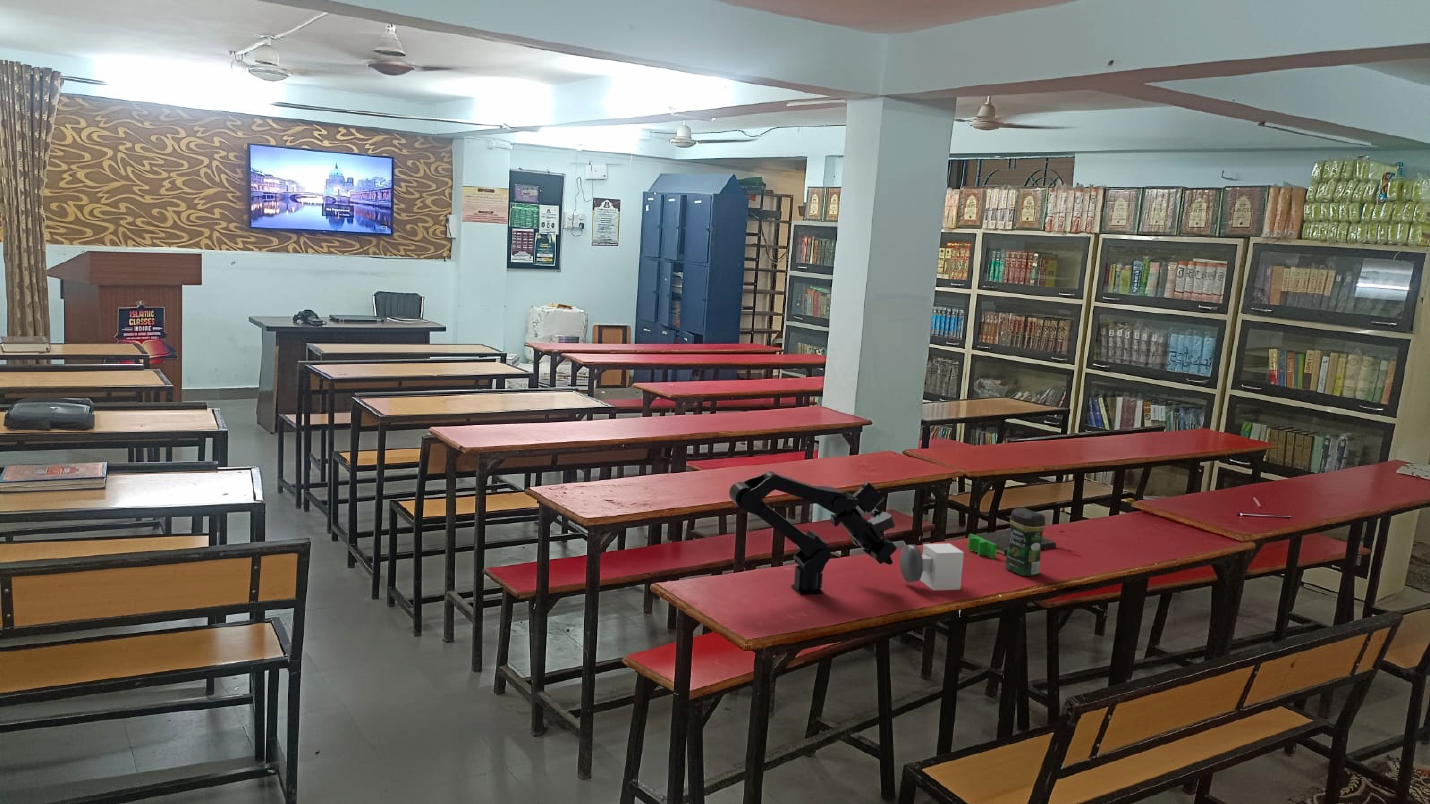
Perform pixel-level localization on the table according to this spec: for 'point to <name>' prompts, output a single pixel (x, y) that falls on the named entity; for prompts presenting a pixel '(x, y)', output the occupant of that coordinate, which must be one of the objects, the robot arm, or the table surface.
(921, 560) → the knob
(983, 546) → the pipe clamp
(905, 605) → the table surface
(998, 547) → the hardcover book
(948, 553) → the block
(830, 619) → the table surface
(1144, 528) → the table surface
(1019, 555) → the coffee jar
